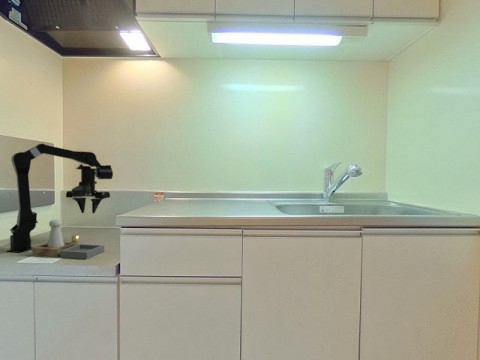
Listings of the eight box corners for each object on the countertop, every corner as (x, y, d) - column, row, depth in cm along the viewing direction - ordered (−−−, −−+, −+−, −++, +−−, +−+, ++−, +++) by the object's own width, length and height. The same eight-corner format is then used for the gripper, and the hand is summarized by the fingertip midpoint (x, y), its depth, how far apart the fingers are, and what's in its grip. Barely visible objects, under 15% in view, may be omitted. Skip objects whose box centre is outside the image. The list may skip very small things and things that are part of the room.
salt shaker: (60, 249, 125) (60, 218, 125) (66, 252, 122) (66, 220, 121) (44, 252, 121) (44, 220, 120) (50, 255, 117) (50, 221, 117)
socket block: (32, 255, 116) (32, 247, 116) (54, 248, 128) (54, 241, 127) (57, 257, 115) (57, 249, 115) (77, 249, 126) (77, 242, 126)
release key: (59, 249, 125) (59, 238, 125) (74, 244, 134) (74, 234, 134) (66, 250, 125) (66, 239, 125) (80, 244, 134) (80, 234, 134)
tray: (60, 257, 115) (60, 250, 115) (79, 249, 126) (79, 243, 126) (86, 259, 113) (86, 252, 113) (104, 251, 124) (104, 245, 124)
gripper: (56, 179, 133) (57, 214, 134) (95, 180, 131) (95, 216, 131) (74, 178, 144) (74, 211, 145) (110, 179, 142) (110, 213, 142)
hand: (88, 213), depth 141 cm, fingers open, 5 cm apart
